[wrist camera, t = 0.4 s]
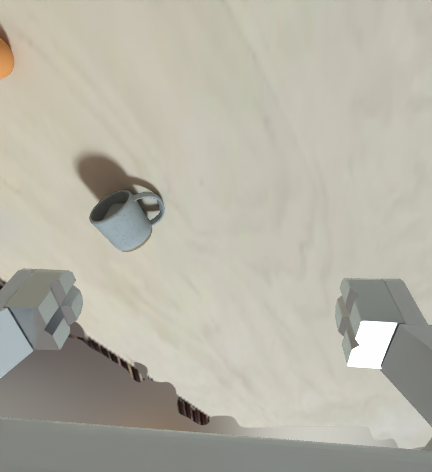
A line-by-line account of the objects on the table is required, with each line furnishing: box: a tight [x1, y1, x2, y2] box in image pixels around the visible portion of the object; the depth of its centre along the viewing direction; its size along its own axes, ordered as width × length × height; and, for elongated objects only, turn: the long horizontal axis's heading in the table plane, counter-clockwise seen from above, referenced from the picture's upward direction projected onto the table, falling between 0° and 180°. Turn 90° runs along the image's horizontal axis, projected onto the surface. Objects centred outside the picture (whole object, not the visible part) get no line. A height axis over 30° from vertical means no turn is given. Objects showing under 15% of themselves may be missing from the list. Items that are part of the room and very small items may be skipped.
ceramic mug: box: [89, 190, 165, 252], centre depth 53 cm, size 11×8×8 cm
